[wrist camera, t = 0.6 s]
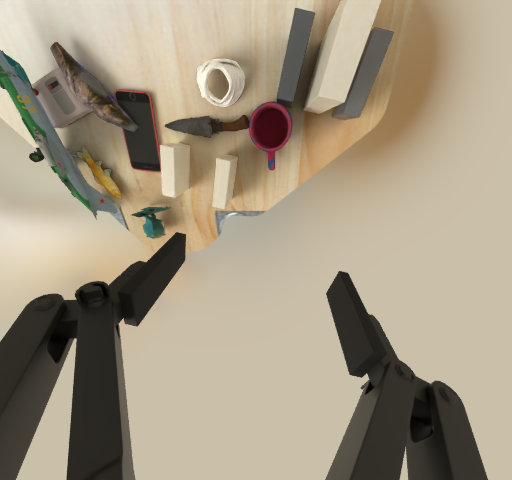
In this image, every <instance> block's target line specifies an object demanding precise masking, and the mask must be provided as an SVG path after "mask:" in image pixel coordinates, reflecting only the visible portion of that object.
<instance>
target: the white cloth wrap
mask: <svg viewBox="0 0 512 480" xmlns="http://www.w3.org/2000/svg"><path fill="white" fill-rule="evenodd" d="M206 66H207V67H206ZM204 67H206V68H205V70H204V71H203V69H204ZM214 69H220V70H221V71H222V72H223V73H224V74H225V76H226V78H227V80H228V82H229V91H228V93H227V94H226V95H225V97H224V98H223V99H218V98H215V97H214V96H213V95H212V94H211V92H210V91H209V89H208V76H209V73H210V72H211V71H212V70H214ZM197 83H198V86H199V88H200V91H201V95H202V97H206V99H207V100H208V101H209V102H210V103H211V104H214V105H216V106H218V107H227V106H230V105H232V104H234V103H235V102H236V101H237V100H238V98H239V97H240V95H241V94H242V92H243V89H244V85H245V76H244V73H243V71H242V69H241V67H240V66H239V65H238V63H237V62H236V61H234V60H230V59H225V58H220V59H211V60H209V61H207V62H204V63H203V64H201V65H200V66H199V67H198V69H197Z"/></svg>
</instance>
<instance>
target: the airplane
mask: <svg viewBox="0 0 512 480" xmlns="http://www.w3.org/2000/svg"><path fill="white" fill-rule="evenodd" d="M0 86H1V88H3V89H6V90H7V91H8V93H9V95H10V97H11V98H12V100H13V102H14V104H15V106H16V107H17V109H18V111H19V113H20V115H21V116H22V120H23V122H24V124H25V125H26V127H27V129H28V130H29V132H30V134H31V135H32V137H33V138H34V140H35V142H36V143H37V145H38V146H39V148H36V149H37V152H35V151H34V153H31V154H30V156H29V158H30V159H31V160H32V161H34V162H39V161H41V160H43V159H44V157H45V159H46V160H47V162H48V164H49V165H50V166H51V168H52V169H53V171H54V172H55V173H57V174H58V176H59V178H60V179H61V181H62V182H63V183H64V184H65V185H66V186H67V187H68V189H69V190H70V191H71V192H72V193H71V194H72V195H74V197H76V198H77V199H78V200H80V201H81V202H82V203H83V204H84V205H85V206H86V207H87V208H88V209H89V210H91V211H92V212H93V214H94V216H95V218H96V215H97V213H96V211H97V210H99V211H106V212H113V213H116V212H117V211H118V209H119V207H120V206H119V205H117V204H116V203H114V202H113V201H111V200H110V199H109V198H107V197H106V196H104V195H103V194H101V193H100V192H99V191H97V190H96V189H94V188H93V187H91V186H90V185H89V184H88V183H87V181H86V180H85V178H84V177H83V175H82V173H81V172H80V170H79V168H78V166H77V165H76V163H75V161H74V159H73V157H72V156H71V154H70V152H69V150H66V149H65V147H64V146H63V144H62V142H61V140H60V138H59V136H58V135H57V133H56V131H55V129H54V127H53V125H52V124H51V122H50V120H49V118H48V116H47V114H46V112H45V110H44V108H43V106H42V104H41V103H40V101H39V100H38V98H37V97H36V94H35V92H34V90H33V88H32V85H31V83H30V81H29V79H28V77H27V75H26V73H25V71H24V69H23V68H22V67H21V65H20V64H19V63H18V62H16V61H15V60H13V59H12V58H10V57H9V56H7V55H6V54H4V52H3V51H1V50H0ZM73 156H75V155H73ZM76 157H77V156H76ZM77 158H78V157H77Z"/></svg>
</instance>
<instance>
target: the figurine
mask: <svg viewBox="0 0 512 480" xmlns="http://www.w3.org/2000/svg"><path fill="white" fill-rule="evenodd" d="M169 208H171V207H169ZM169 208H168V207H166V208H162V207H148V208H144V209H141V210H144V211H141V212H137V213H135V214H132V216H133V215H134V216H136V217H143V216H144V217H145V218H146V223H145V224H144V225H143V229H144V232H145V233H146V234H147V237H150V238H153V239H155V238H160V237H161V236H163V235H165V234H164V233H165V226H164V223H163V220H158V219H156V216H155V215H154V213H156V212H159V211H163V210H166V209H169Z"/></svg>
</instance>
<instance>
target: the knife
mask: <svg viewBox="0 0 512 480" xmlns="http://www.w3.org/2000/svg"><path fill="white" fill-rule="evenodd" d="M249 124H250V123H249V120H248V118H247V116H245V115H243V116H242V117H241V118H240V119H238V120H236V121H234V122H229V123H223V122H219V119H217V120H213V119H211V118H209V116H205V117H200V118H191V119H182V120H177V121H175V122H172V123H169V124H166V125H165V127H167V128H169V129H172V130H175V131H180V132H183V133H188V134H192V135H201V136H202V135H203V136H204V137H209V138H210V137H211V134H213V133H217V134H219V132H218V131H220V132H221V131H238V130H242V129H247V128H249Z"/></svg>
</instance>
